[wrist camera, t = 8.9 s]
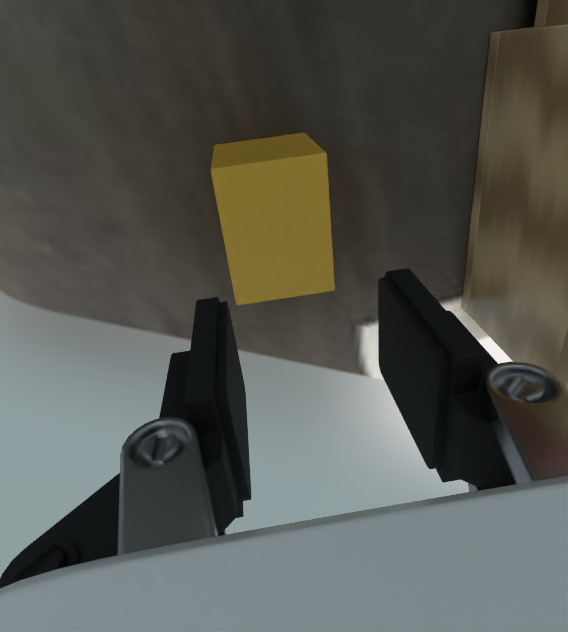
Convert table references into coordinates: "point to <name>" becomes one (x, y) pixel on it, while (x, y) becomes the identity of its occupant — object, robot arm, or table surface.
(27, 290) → the table surface
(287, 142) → the yellow block
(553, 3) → the drawer
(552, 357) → the cabinet
